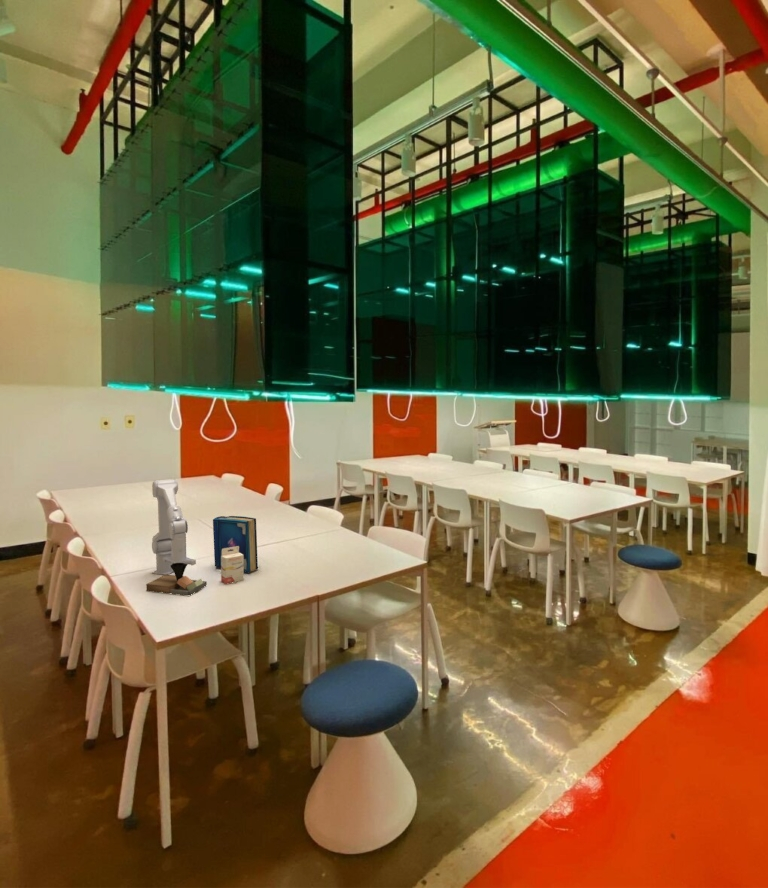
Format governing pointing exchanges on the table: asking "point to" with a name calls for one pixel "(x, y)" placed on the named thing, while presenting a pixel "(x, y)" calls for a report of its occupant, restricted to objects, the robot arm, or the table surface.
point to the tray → (185, 591)
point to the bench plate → (163, 584)
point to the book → (236, 539)
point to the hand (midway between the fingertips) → (179, 580)
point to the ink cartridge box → (232, 565)
